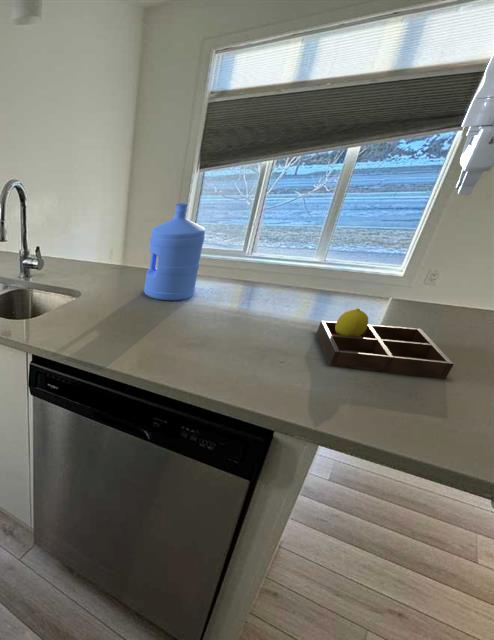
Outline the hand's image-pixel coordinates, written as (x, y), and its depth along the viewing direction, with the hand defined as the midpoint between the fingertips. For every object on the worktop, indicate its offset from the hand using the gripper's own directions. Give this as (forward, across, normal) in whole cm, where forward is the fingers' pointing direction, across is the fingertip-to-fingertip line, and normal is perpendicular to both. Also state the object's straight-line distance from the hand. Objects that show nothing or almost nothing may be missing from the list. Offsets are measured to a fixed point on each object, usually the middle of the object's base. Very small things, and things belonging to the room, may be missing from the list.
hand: (462, 192), depth 85 cm
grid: (+31, -20, +4) cm, 37 cm away
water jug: (+31, 0, +57) cm, 65 cm away
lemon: (+31, -16, +9) cm, 36 cm away
